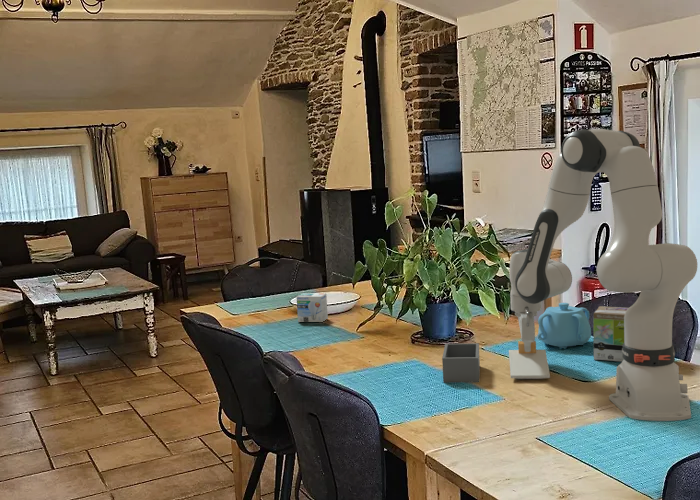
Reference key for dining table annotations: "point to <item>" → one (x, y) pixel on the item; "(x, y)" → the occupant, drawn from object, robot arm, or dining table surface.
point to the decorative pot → (564, 326)
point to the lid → (528, 363)
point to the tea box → (608, 333)
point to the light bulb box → (312, 307)
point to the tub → (461, 363)
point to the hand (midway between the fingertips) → (527, 349)
